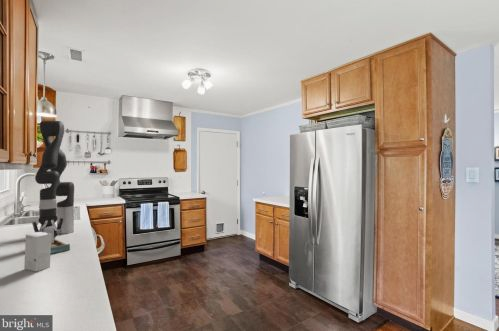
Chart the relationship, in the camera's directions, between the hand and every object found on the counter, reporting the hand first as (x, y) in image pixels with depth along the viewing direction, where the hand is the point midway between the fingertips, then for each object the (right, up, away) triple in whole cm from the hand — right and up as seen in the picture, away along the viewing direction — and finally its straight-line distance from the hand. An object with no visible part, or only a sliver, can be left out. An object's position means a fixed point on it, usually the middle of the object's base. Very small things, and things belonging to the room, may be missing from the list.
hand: (48, 238), depth 145 cm
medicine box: (0, -2, 0) cm, 2 cm away
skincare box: (+19, -4, -31) cm, 37 cm away
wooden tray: (+4, -4, -3) cm, 7 cm away
